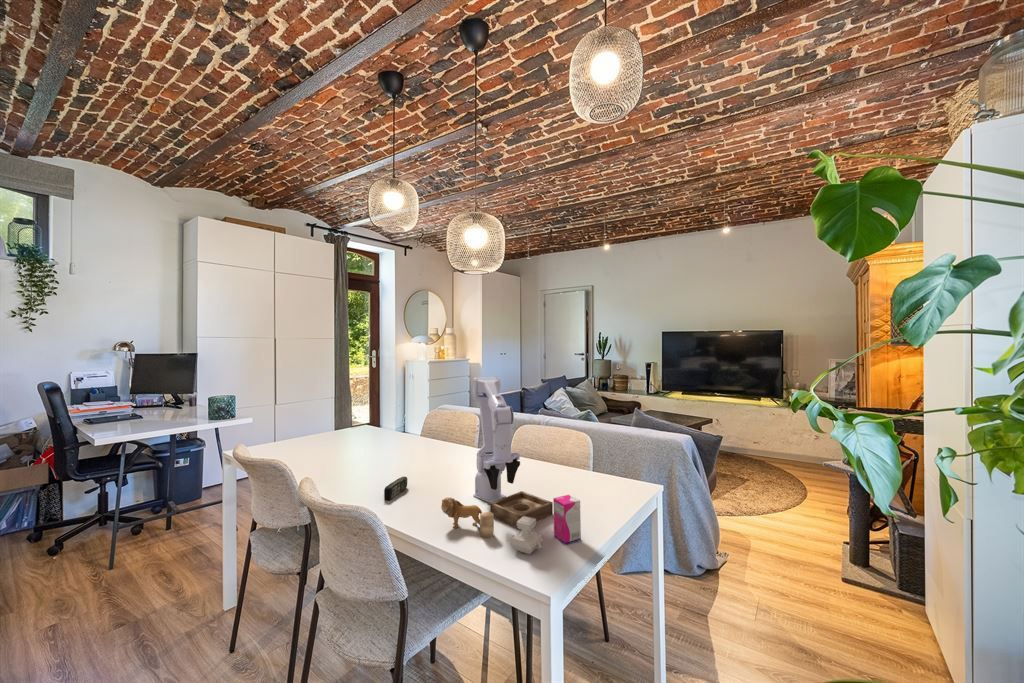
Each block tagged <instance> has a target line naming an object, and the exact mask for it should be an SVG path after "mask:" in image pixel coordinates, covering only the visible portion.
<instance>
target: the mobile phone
mask: <svg viewBox="0 0 1024 683" xmlns="http://www.w3.org/2000/svg"><path fill="white" fill-rule="evenodd" d="M407 487H408V477H407V476H401V477H399V478H397V479H395V480H394V481H392V482H391V483H389V484H388V485H386V486H385V487H384V490H383V492H384V493H383V494H384V495H383V496H384V497H383V498H384V501H387V502H389V501H391V500H393V499H394V498H395V497H396V496H398V495H400V494H401V493H403V492H405V490H406V489H407Z"/></svg>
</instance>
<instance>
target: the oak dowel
mask: <svg viewBox="0 0 1024 683" xmlns="http://www.w3.org/2000/svg"><path fill="white" fill-rule="evenodd" d="M479 519H480V525H479V527H480V530H479V537H480V538H483V539H491V538H493V537H494V532H495V530H494V529H495V528H494V526H495V524H494V523H495V522H494V521H495V520H494V519H495V518H494V514H493V513H491V512H490V511H484V512H483V511H482V513H481V514H480V513H479Z"/></svg>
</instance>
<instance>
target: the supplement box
mask: <svg viewBox="0 0 1024 683" xmlns="http://www.w3.org/2000/svg"><path fill="white" fill-rule="evenodd" d="M552 499H553V536H554V538H556V540H558V541H560V542H561V543H562V544H564V545H568V544H572V543H577V542H578V541H581V540H582V530H581V528H582V526H581V524H582V523H581V521H582V519H581V500H580V499H578V498H576V497H574V496H573V495H571V494H565V495H561V496H557V497H553V498H552Z"/></svg>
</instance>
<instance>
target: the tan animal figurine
mask: <svg viewBox="0 0 1024 683" xmlns="http://www.w3.org/2000/svg"><path fill="white" fill-rule="evenodd" d="M440 506H441V508H440V509H441V511H442V512H443V514H445V515H447V516H448V518H453V524H452V525H453V526H452V529H453V530H456V529H458V527H459V518H462V519H467V518H469V517H472V519H473V521H474V522H473V523H472V525H473V526H477V524H478V525H479V527H478V528H477V529H478V530H479V531H480V514H481V513H483V511H482V509H481V508H480V507H479V506H478V505H475V504H472V505H471V504H470V505H464V504H462V503H461V502H460V501H459V500H457V499H455V498H452V497H445V498H443V499H442V500H441V505H440Z"/></svg>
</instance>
